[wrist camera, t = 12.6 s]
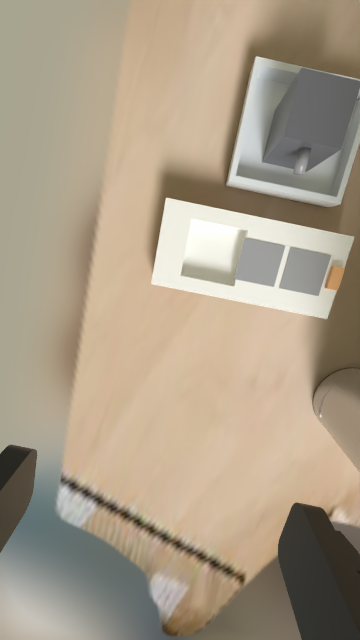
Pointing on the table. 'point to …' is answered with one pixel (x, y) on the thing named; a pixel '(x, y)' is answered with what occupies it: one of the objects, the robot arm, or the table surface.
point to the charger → (311, 120)
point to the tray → (255, 122)
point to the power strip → (249, 258)
